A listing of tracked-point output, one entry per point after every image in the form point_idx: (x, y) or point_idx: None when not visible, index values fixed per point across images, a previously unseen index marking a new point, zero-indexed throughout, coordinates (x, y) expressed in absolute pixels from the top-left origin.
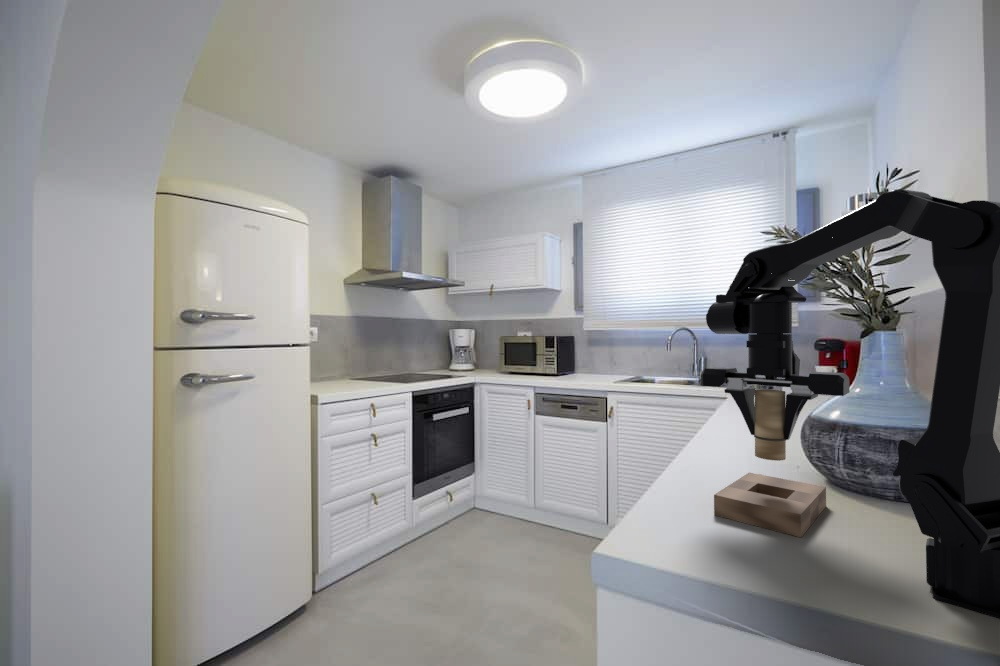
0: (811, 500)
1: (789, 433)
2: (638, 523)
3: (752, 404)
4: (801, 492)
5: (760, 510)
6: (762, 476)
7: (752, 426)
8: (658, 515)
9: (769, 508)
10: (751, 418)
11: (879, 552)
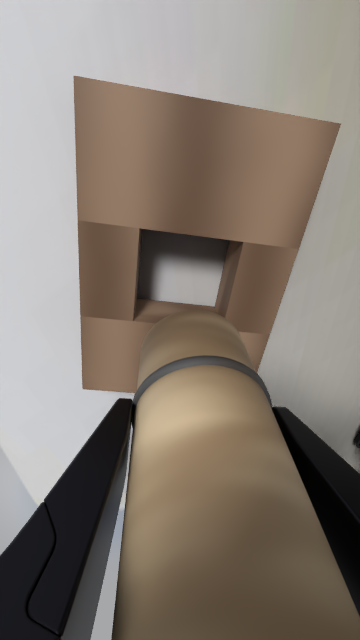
0: (275, 307)
1: None
2: (16, 444)
3: (78, 622)
4: (258, 251)
5: None
6: (133, 116)
7: (124, 478)
8: (16, 405)
9: None
10: (113, 531)
11: (342, 353)
